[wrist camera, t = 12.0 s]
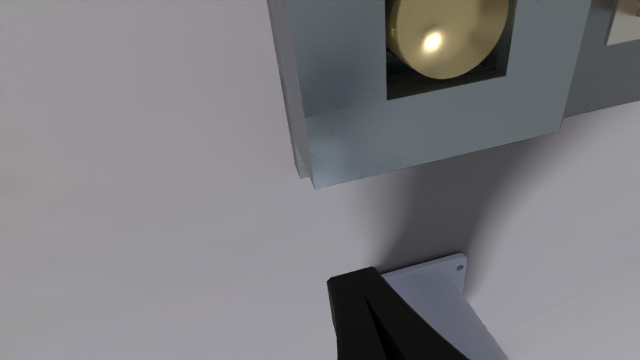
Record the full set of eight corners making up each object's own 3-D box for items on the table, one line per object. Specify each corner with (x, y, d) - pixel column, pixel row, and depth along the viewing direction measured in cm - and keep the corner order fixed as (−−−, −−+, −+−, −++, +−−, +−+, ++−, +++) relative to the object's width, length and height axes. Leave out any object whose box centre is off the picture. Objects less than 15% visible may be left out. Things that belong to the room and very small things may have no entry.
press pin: (449, 45, 16) (499, 67, 13) (365, 61, 15) (400, 88, 13) (456, -59, 14) (517, -57, 11) (360, -44, 13) (399, -38, 11)
